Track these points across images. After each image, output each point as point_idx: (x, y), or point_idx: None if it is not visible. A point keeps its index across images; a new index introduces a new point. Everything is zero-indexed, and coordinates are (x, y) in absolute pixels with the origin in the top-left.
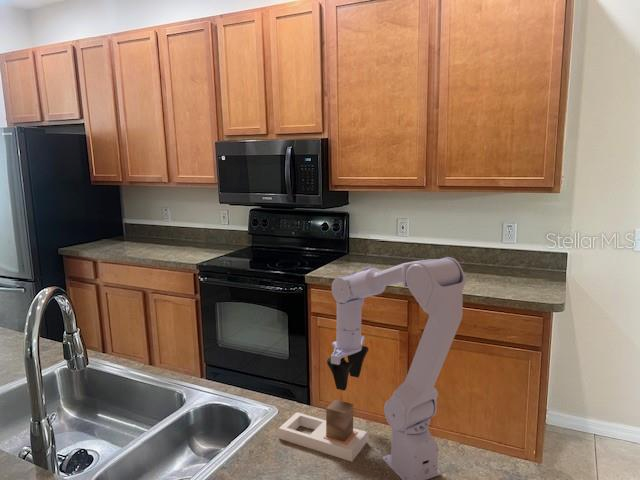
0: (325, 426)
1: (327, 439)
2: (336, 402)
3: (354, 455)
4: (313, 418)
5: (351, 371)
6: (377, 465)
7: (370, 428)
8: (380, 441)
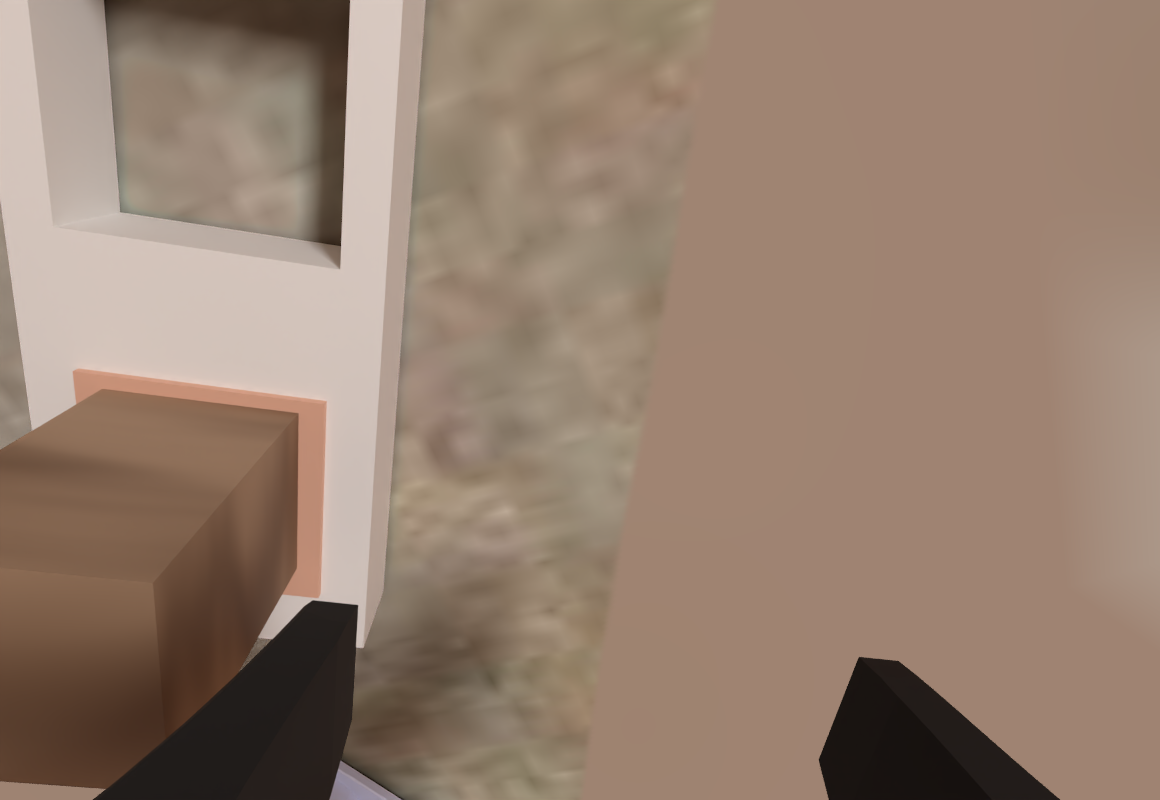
0: (275, 321)
1: None
2: (85, 618)
3: None
4: (361, 147)
5: (890, 742)
6: None
7: (584, 567)
8: (446, 654)
